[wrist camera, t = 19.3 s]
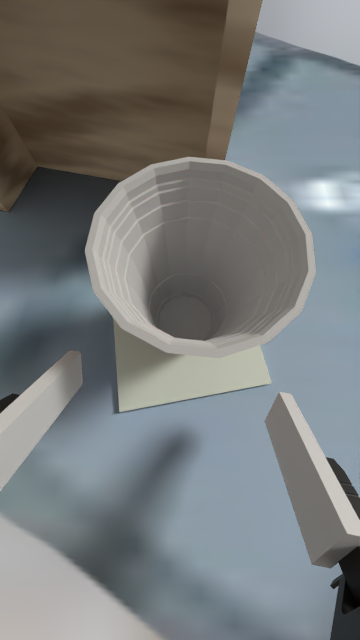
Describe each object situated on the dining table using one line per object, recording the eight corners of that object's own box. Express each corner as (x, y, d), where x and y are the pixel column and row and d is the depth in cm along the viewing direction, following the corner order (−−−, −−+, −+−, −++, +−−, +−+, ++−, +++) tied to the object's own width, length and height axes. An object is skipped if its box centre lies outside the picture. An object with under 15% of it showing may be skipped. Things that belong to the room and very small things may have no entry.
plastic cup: (113, 358, 19) (28, 306, 8) (151, 265, 22) (133, 137, 11) (225, 393, 18) (316, 394, 7) (246, 292, 22) (327, 185, 11)
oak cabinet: (204, 246, 24) (320, -248, 6) (-4, 209, 25) (-545, -364, 6) (217, 167, 29) (302, -233, 11) (44, 138, 30) (-169, -297, 11)
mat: (269, 383, 19) (271, 383, 19) (120, 411, 18) (119, 412, 17) (231, 261, 24) (233, 258, 23) (111, 276, 22) (110, 273, 22)
